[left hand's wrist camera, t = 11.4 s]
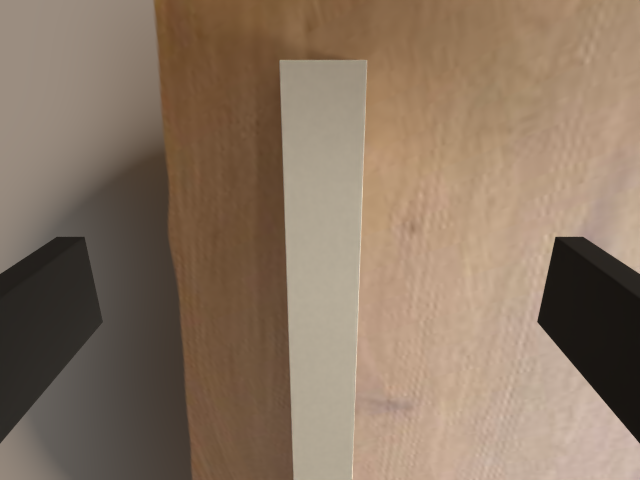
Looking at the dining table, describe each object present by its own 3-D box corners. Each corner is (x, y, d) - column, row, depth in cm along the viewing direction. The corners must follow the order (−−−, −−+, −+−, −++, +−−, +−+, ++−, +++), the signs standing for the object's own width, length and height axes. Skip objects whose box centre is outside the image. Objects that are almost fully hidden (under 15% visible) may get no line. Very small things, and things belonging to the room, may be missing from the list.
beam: (288, 61, 32) (279, 60, 25) (356, 60, 32) (367, 60, 25) (303, 653, 60) (301, 731, 53) (340, 653, 60) (343, 731, 53)
